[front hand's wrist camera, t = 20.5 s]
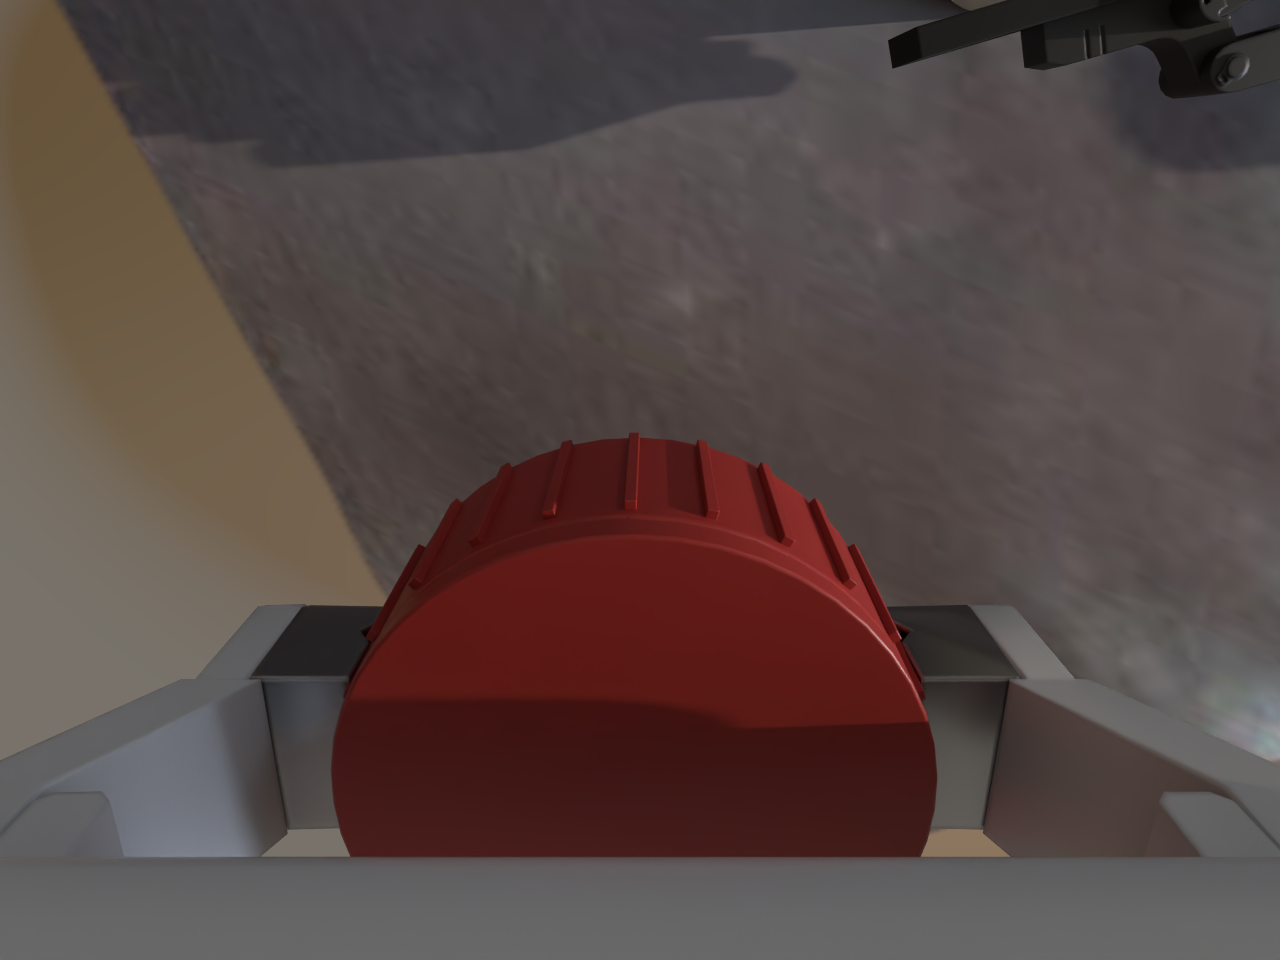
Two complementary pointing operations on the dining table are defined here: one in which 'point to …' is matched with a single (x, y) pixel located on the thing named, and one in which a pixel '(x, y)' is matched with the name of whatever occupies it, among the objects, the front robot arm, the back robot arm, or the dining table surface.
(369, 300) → the dining table surface
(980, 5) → the cream cylinder
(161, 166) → the dining table surface
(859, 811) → the lid
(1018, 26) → the back robot arm
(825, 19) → the dining table surface
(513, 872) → the front robot arm
